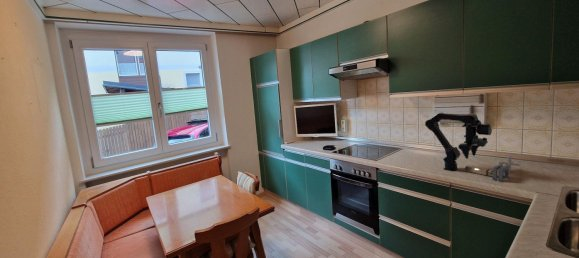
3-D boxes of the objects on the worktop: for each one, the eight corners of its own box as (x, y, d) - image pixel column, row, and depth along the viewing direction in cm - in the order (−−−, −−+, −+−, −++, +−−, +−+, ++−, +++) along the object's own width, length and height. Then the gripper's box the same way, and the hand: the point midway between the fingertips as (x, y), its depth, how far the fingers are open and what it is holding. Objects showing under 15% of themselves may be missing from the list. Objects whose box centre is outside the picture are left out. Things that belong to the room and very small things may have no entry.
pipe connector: (519, 169, 165) (520, 155, 163) (518, 174, 158) (519, 158, 157) (500, 167, 172) (500, 153, 170) (497, 171, 165) (498, 157, 164)
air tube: (464, 169, 169) (466, 164, 170) (466, 172, 171) (468, 167, 172) (493, 175, 155) (495, 169, 156) (495, 178, 157) (497, 172, 158)
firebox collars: (492, 180, 153) (492, 167, 151) (500, 176, 158) (500, 163, 157) (501, 182, 149) (501, 169, 148) (509, 177, 154) (509, 165, 153)
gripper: (478, 137, 152) (477, 162, 155) (492, 132, 161) (491, 156, 164) (458, 135, 162) (457, 159, 164) (472, 131, 171) (472, 153, 173)
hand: (470, 157), depth 166 cm, fingers open, 9 cm apart
